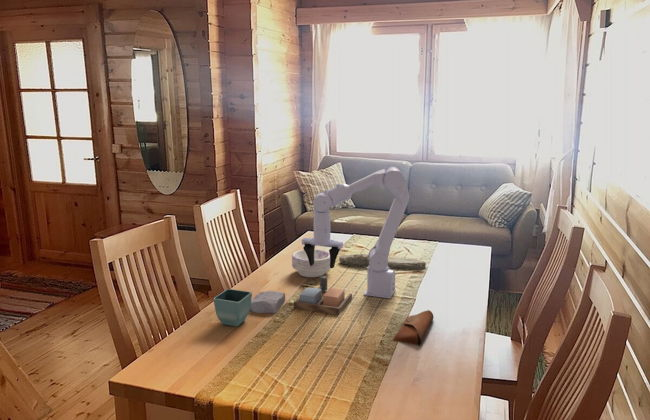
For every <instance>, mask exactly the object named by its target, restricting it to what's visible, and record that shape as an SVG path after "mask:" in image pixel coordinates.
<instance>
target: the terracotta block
mask: <svg viewBox="0 0 650 420" xmlns="http://www.w3.org/2000/svg"><path fill="white" fill-rule="evenodd" d="M345 292H346V290H345V289H341V288H340V289H339V288H333V287H330V288H329V289H327V290H326V291H325V293H323V294H322V298H323V305H326V306H333V307H339V306H340V304H341V303H342V302H343V301H344V300H345V299H346V297H345V295H346V294H345Z"/></svg>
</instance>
